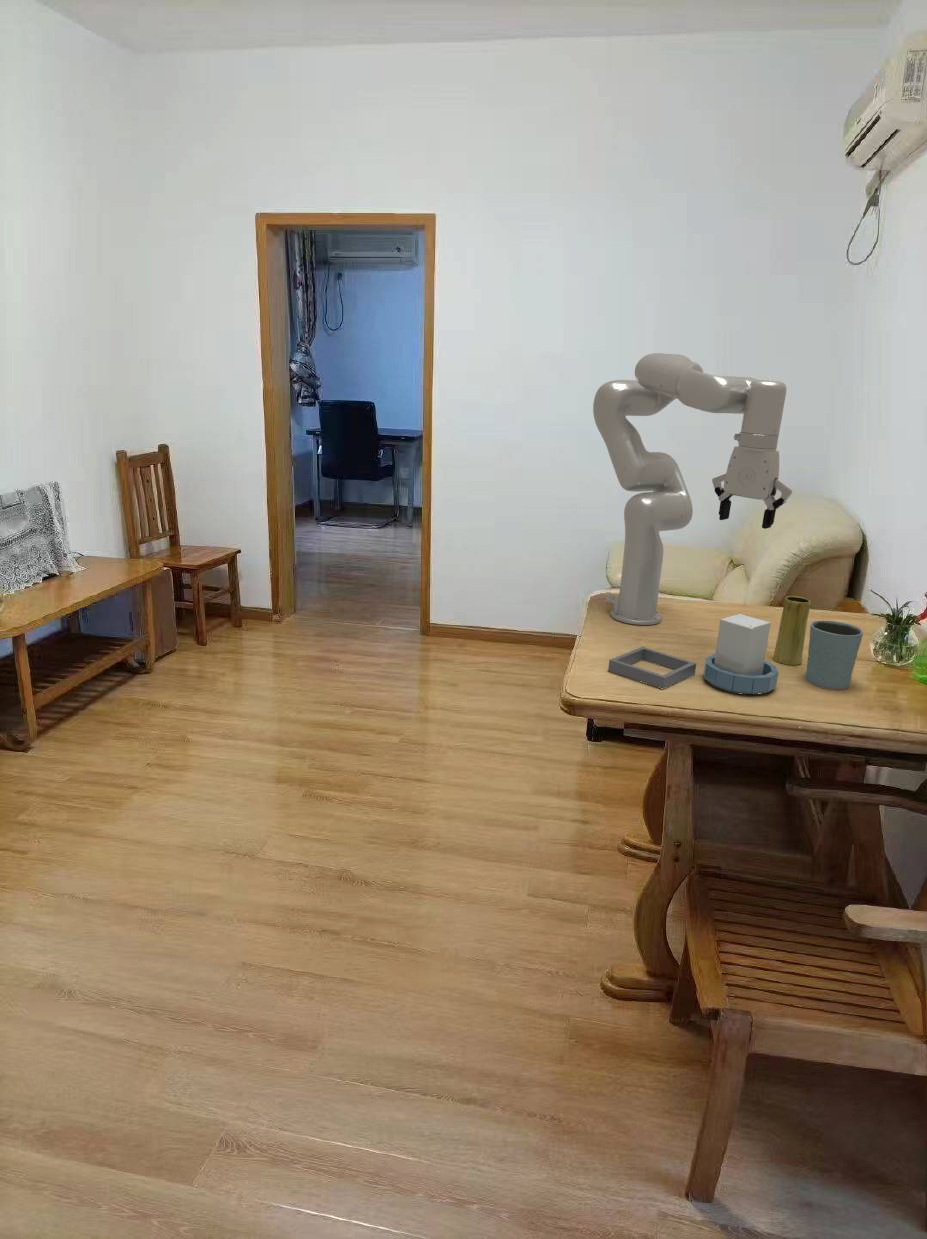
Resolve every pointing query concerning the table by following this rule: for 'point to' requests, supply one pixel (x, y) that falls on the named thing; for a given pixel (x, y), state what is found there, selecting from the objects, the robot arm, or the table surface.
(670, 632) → the table surface
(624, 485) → the robot arm
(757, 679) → the bowl
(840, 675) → the blue-grey cup
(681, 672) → the gray square frame
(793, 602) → the vase
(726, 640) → the supplement box
